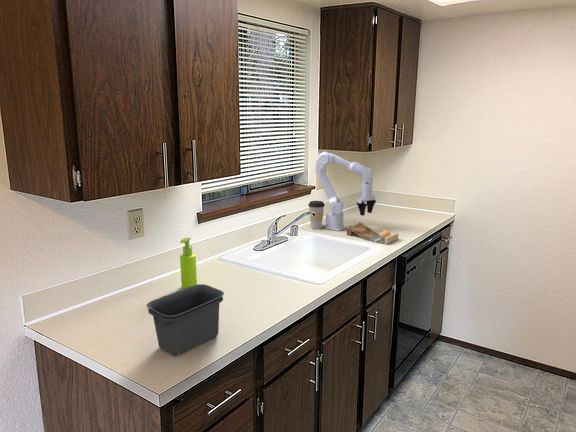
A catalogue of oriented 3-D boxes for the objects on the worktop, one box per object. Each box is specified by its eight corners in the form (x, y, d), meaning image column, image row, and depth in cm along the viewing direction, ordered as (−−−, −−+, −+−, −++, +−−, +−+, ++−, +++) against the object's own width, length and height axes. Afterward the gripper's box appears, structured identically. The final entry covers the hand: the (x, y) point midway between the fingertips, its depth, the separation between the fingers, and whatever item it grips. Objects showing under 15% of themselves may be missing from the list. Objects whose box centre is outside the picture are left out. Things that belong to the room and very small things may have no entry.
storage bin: (172, 364, 129) (169, 317, 126) (141, 345, 139) (137, 301, 135) (230, 336, 145) (228, 293, 141) (198, 321, 154) (196, 280, 151)
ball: (379, 230, 241) (388, 232, 238) (384, 228, 245) (392, 230, 241) (378, 239, 242) (386, 242, 239) (383, 237, 246) (391, 239, 243)
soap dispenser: (177, 290, 179) (174, 240, 174) (185, 283, 186) (183, 235, 181) (192, 291, 178) (189, 241, 173) (199, 284, 184) (197, 236, 179)
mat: (363, 239, 244) (364, 233, 243) (375, 234, 253) (375, 228, 252) (386, 244, 236) (387, 238, 235) (398, 239, 244) (398, 233, 244)
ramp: (346, 236, 253) (347, 225, 251) (356, 232, 260) (356, 221, 258) (368, 241, 244) (369, 229, 242) (378, 237, 251) (378, 225, 249)
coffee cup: (316, 224, 273) (316, 199, 269) (327, 228, 266) (328, 202, 262) (304, 227, 267) (304, 201, 264) (315, 230, 260) (316, 204, 257)
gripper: (366, 192, 248) (365, 217, 251) (380, 189, 259) (378, 212, 262) (355, 191, 253) (354, 215, 256) (369, 187, 263) (368, 210, 267)
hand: (365, 214), depth 259 cm, fingers open, 7 cm apart
